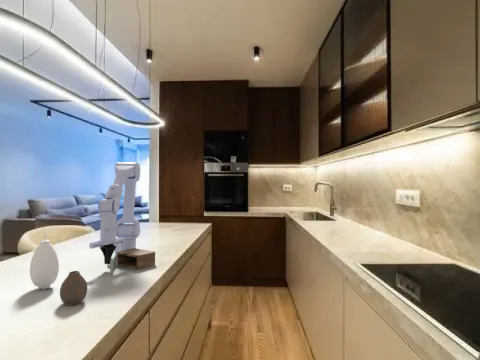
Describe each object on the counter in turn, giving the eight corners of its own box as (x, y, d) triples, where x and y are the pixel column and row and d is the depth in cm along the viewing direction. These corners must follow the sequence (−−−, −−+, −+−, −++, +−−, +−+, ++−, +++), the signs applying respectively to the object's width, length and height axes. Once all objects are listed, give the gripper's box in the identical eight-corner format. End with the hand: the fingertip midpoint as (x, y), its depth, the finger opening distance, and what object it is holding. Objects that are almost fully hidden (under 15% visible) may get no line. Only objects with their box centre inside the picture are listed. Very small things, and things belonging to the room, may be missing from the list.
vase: (58, 309, 82) (59, 276, 82) (60, 300, 88) (60, 270, 88) (87, 305, 85) (88, 273, 86) (87, 296, 91) (87, 267, 92)
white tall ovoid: (37, 294, 93) (38, 235, 94) (24, 289, 98) (26, 232, 98) (63, 287, 100) (64, 231, 100) (50, 282, 104) (51, 229, 105)
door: (111, 264, 127) (111, 253, 127) (116, 264, 128) (116, 253, 128) (106, 273, 114) (107, 261, 114) (112, 273, 115) (112, 261, 115)
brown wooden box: (116, 265, 128) (116, 251, 128) (134, 260, 136) (134, 248, 136) (137, 269, 121) (138, 255, 121) (155, 264, 129) (155, 251, 129)
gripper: (97, 232, 112) (96, 269, 111) (130, 228, 124) (129, 261, 124) (86, 230, 116) (85, 266, 115) (119, 226, 128) (118, 259, 127)
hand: (107, 264), depth 120 cm, fingers closed
